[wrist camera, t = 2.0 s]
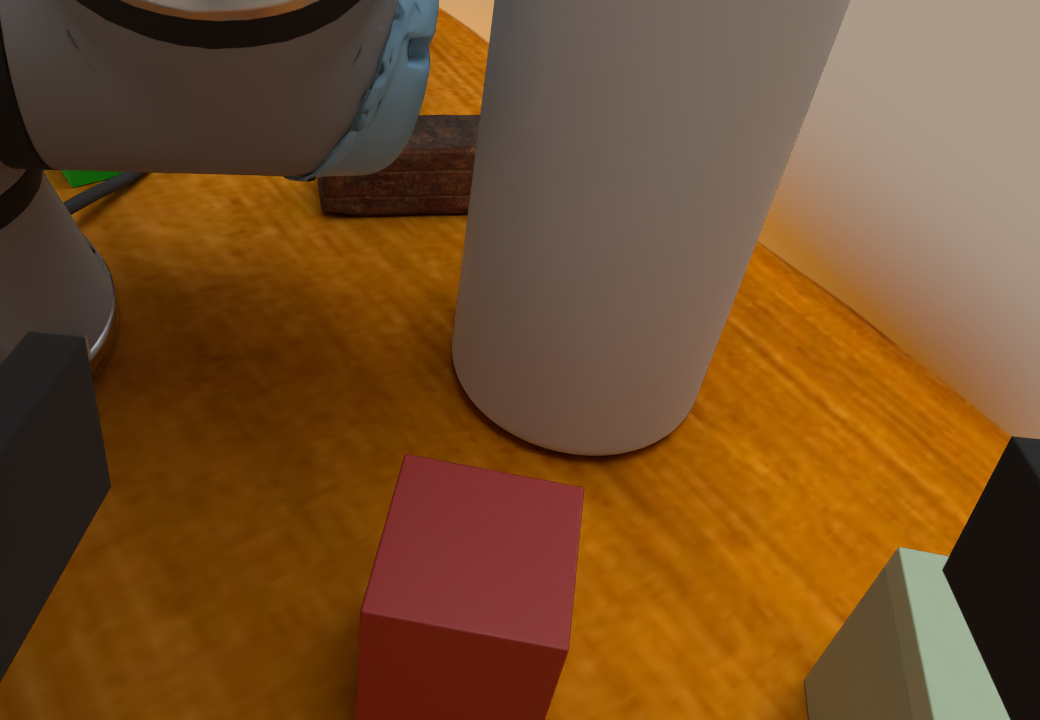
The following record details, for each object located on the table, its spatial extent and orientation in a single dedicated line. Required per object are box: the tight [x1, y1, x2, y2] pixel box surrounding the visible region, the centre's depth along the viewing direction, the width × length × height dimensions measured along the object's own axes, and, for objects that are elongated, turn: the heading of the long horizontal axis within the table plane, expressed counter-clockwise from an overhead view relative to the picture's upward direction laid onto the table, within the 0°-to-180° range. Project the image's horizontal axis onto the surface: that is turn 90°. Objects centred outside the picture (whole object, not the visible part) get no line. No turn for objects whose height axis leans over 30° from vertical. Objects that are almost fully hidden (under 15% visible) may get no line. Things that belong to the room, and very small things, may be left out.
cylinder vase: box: [452, 0, 850, 456], centre depth 40 cm, size 12×12×25 cm
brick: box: [318, 115, 480, 215], centre depth 55 cm, size 11×4×5 cm, turn 104°
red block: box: [355, 454, 584, 720], centre depth 32 cm, size 6×6×9 cm
